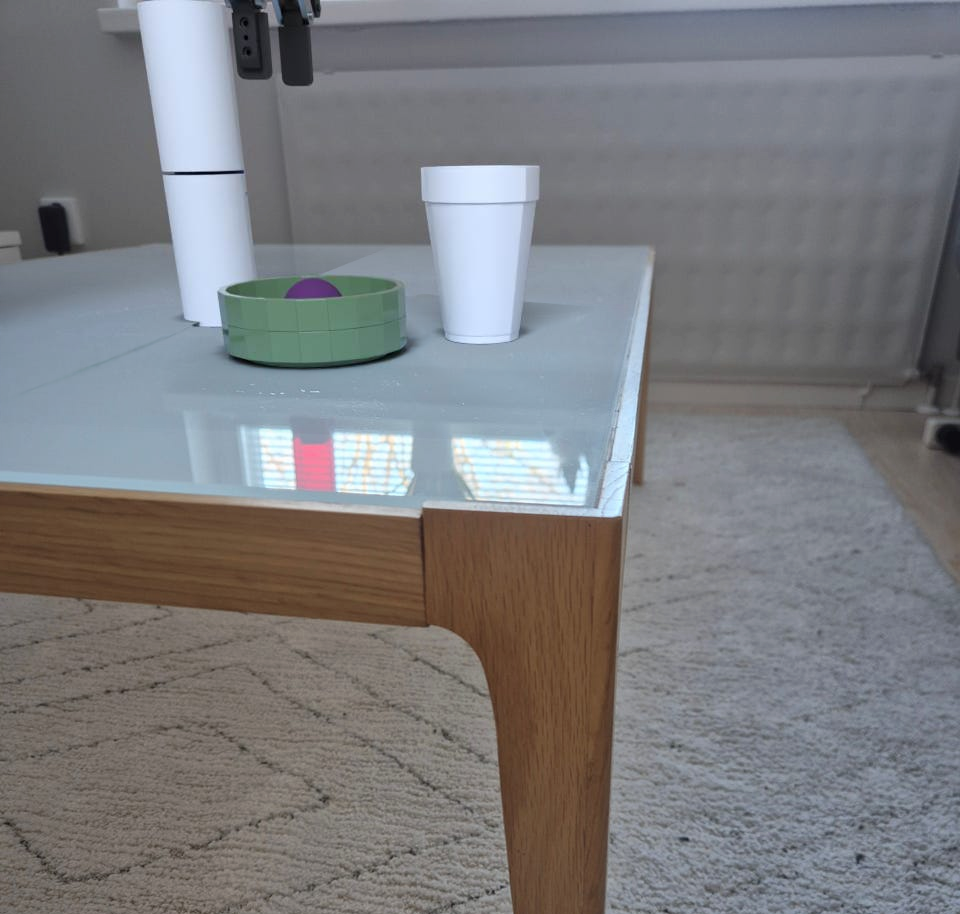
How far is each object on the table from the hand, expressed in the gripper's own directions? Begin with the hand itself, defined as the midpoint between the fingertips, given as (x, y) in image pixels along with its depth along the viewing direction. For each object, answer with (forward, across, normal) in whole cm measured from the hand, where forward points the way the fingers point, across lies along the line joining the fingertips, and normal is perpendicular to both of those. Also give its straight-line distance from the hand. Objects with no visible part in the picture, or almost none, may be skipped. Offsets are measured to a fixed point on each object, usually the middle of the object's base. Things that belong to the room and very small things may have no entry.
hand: (278, 82), depth 66 cm
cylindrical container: (+19, -15, -13) cm, 27 cm away
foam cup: (+18, -9, +13) cm, 24 cm away
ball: (+15, -1, +1) cm, 16 cm away
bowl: (+19, -1, +1) cm, 19 cm away
